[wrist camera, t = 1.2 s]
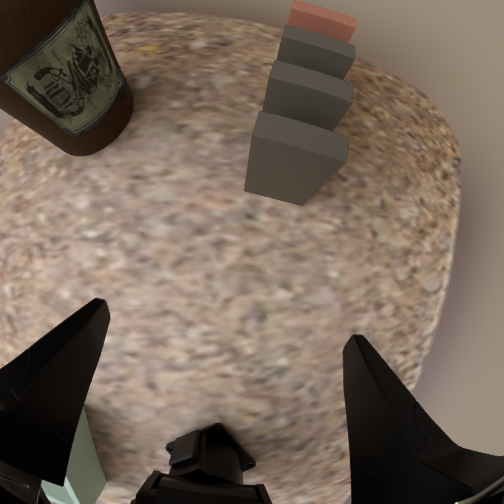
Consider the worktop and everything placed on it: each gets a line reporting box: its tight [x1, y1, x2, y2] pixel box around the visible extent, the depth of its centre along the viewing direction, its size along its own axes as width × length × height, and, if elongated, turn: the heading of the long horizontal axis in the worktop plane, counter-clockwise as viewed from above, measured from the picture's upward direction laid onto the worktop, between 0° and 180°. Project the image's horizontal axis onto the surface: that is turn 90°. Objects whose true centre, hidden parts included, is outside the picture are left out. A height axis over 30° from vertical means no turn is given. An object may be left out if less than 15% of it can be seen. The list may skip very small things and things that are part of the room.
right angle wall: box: [41, 406, 107, 504], centre depth 16 cm, size 12×12×8 cm
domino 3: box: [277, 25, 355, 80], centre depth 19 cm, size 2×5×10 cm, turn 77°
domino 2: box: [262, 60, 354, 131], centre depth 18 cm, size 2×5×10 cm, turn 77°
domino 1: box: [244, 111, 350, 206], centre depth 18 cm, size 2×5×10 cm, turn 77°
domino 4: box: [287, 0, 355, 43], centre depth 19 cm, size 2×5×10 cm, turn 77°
